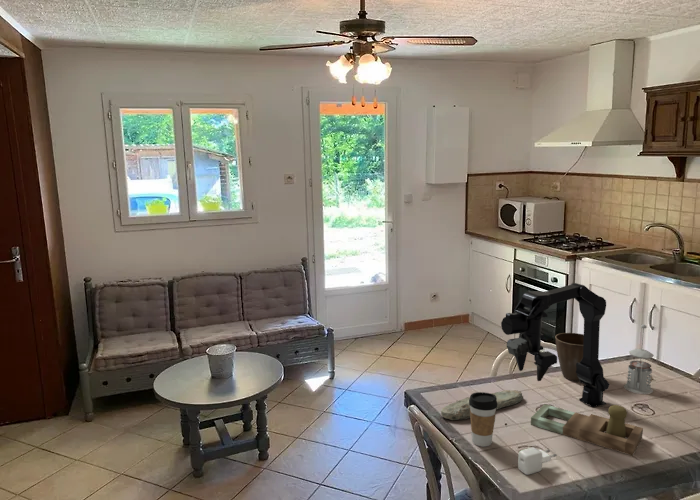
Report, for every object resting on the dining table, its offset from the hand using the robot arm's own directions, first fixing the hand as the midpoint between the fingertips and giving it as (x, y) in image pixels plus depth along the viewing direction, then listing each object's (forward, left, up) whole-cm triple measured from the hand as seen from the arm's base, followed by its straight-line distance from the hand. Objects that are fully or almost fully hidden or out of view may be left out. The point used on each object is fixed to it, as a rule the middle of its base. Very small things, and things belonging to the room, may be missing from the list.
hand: (529, 375), depth 182 cm
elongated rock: (+10, -11, -15) cm, 21 cm away
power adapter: (+18, +26, -15) cm, 35 cm away
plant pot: (-38, -20, -15) cm, 46 cm away
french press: (-52, -2, -15) cm, 54 cm away
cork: (-15, +23, -15) cm, 31 cm away
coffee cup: (+24, +8, -15) cm, 29 cm away
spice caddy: (-10, +15, -15) cm, 23 cm away
